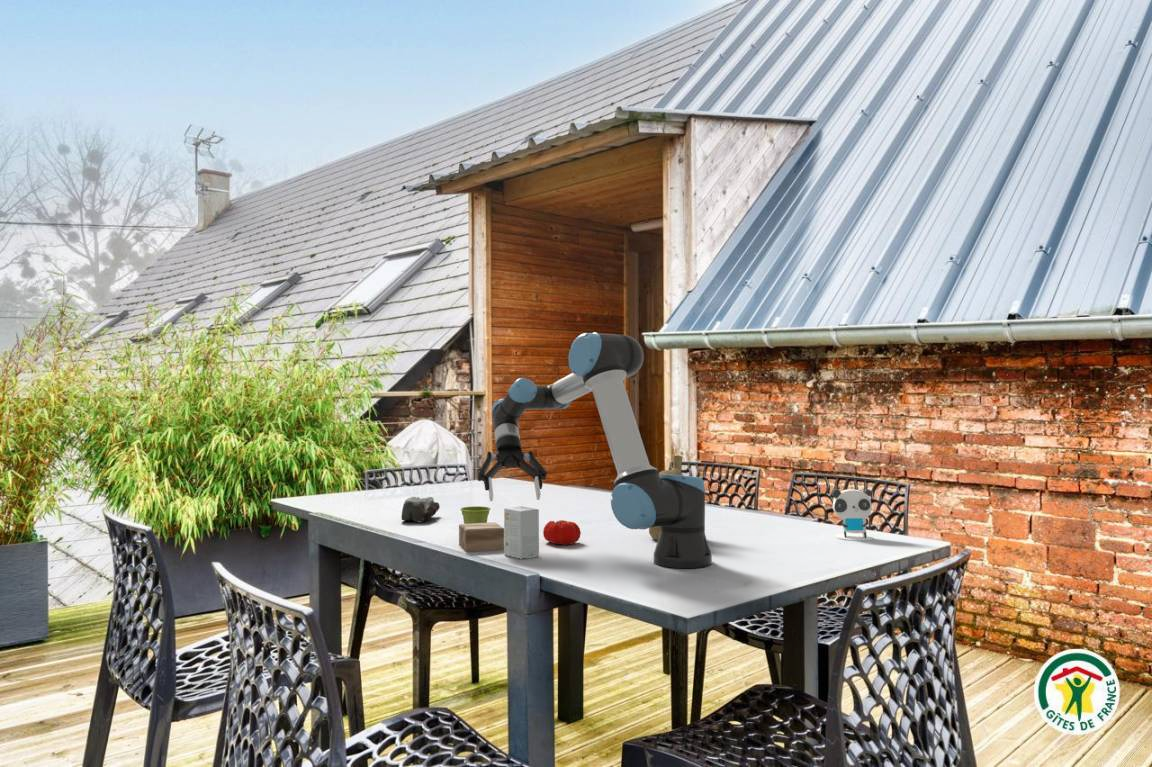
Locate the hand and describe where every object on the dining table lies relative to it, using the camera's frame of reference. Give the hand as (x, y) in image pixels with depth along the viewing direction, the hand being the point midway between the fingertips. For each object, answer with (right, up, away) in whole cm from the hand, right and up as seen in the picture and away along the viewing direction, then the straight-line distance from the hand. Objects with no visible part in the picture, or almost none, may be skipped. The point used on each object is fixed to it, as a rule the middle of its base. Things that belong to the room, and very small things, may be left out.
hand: (515, 497), depth 234 cm
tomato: (+13, -15, +9) cm, 22 cm away
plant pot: (-14, -15, +22) cm, 30 cm away
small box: (+2, -15, -10) cm, 18 cm away
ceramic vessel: (+47, -15, +17) cm, 53 cm away
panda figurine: (+103, -15, +18) cm, 105 cm away
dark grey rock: (-37, -16, +55) cm, 69 cm away
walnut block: (-10, -15, +3) cm, 18 cm away
